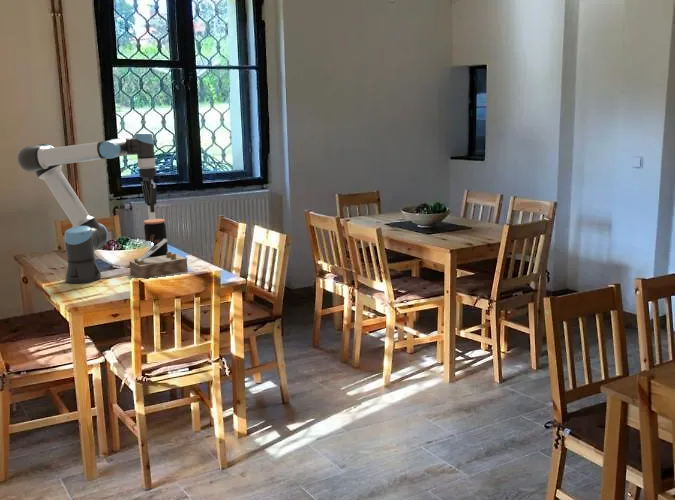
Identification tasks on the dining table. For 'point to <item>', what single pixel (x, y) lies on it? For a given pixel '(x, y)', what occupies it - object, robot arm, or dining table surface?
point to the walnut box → (158, 265)
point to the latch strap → (152, 249)
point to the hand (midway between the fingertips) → (152, 219)
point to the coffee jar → (156, 235)
